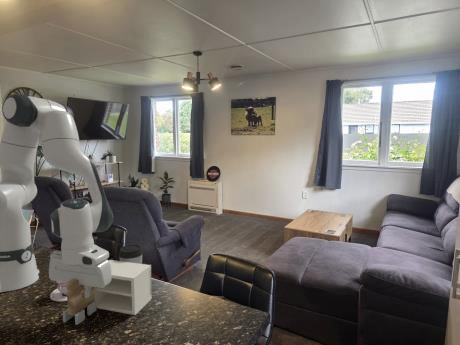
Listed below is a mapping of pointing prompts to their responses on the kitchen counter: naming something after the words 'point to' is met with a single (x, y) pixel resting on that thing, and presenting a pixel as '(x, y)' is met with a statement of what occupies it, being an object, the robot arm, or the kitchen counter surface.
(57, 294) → the teacup
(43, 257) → the kitchen counter surface
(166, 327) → the kitchen counter surface
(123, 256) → the coffee cup
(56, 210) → the robot arm
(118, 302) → the cabinet
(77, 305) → the door
